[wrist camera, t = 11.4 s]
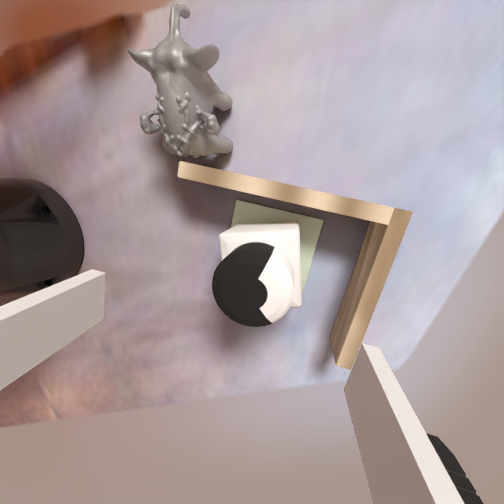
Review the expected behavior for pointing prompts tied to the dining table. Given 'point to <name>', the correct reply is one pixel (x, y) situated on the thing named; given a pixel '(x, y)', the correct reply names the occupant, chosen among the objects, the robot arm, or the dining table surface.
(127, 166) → the dining table surface
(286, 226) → the medicine bottle
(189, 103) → the elephant statuette
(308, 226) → the pad
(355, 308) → the corner arena
